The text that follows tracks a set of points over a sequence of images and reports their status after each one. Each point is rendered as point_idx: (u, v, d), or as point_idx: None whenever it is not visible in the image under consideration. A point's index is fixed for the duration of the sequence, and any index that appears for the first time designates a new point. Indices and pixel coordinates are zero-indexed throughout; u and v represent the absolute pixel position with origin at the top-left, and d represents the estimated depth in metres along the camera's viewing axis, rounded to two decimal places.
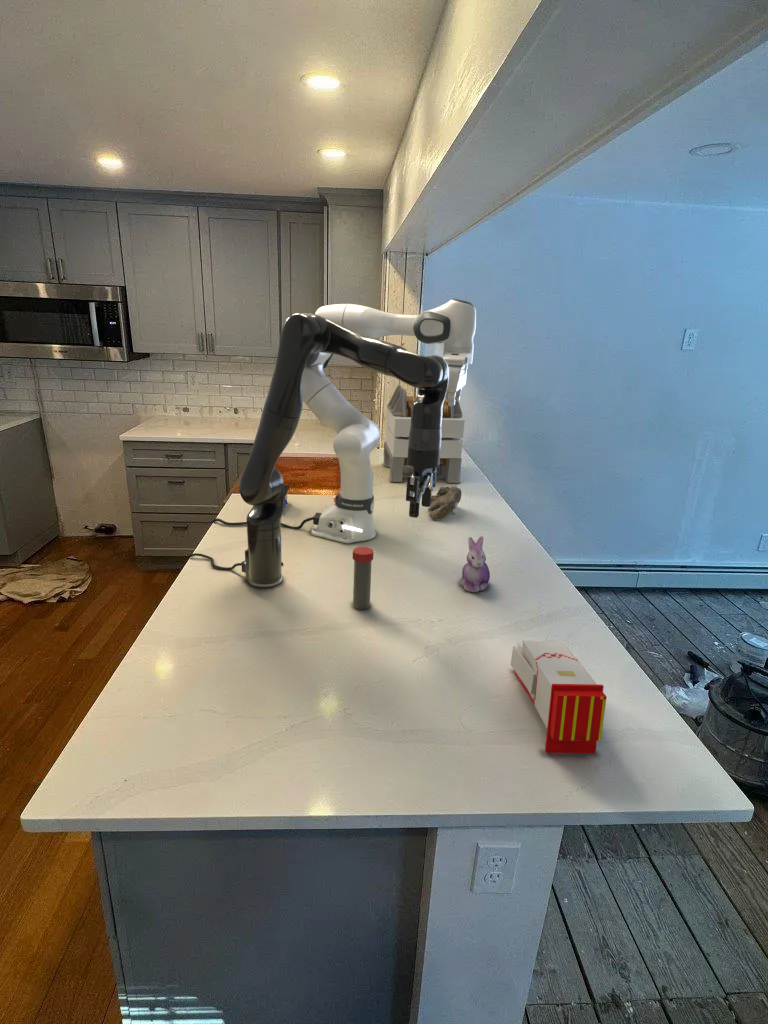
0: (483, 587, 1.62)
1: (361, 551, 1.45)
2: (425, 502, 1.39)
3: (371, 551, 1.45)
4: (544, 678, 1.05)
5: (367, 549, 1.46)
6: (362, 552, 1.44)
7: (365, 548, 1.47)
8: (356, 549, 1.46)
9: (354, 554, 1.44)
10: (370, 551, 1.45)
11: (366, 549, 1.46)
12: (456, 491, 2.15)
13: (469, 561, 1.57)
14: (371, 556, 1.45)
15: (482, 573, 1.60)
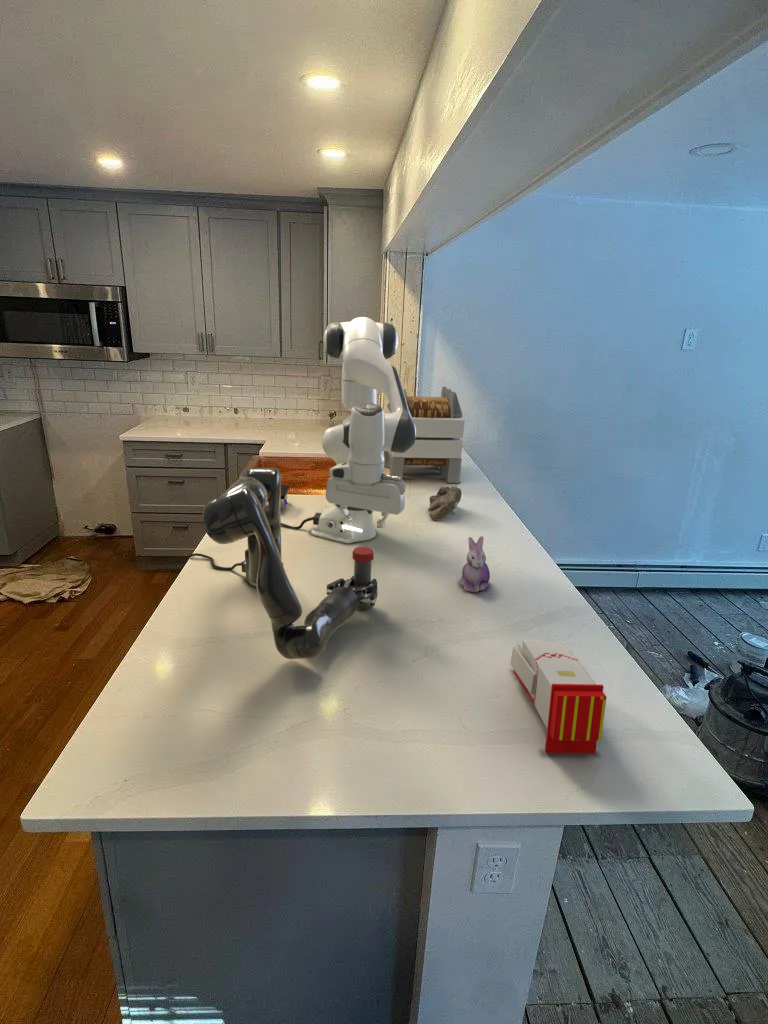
0: (483, 587, 1.62)
1: (361, 551, 1.45)
2: None
3: (371, 551, 1.45)
4: (544, 678, 1.05)
5: (367, 549, 1.46)
6: (362, 552, 1.44)
7: (365, 548, 1.47)
8: (356, 549, 1.46)
9: (354, 554, 1.44)
10: (370, 551, 1.45)
11: (366, 549, 1.46)
12: (456, 491, 2.15)
13: (469, 561, 1.57)
14: (371, 556, 1.45)
15: (482, 573, 1.60)
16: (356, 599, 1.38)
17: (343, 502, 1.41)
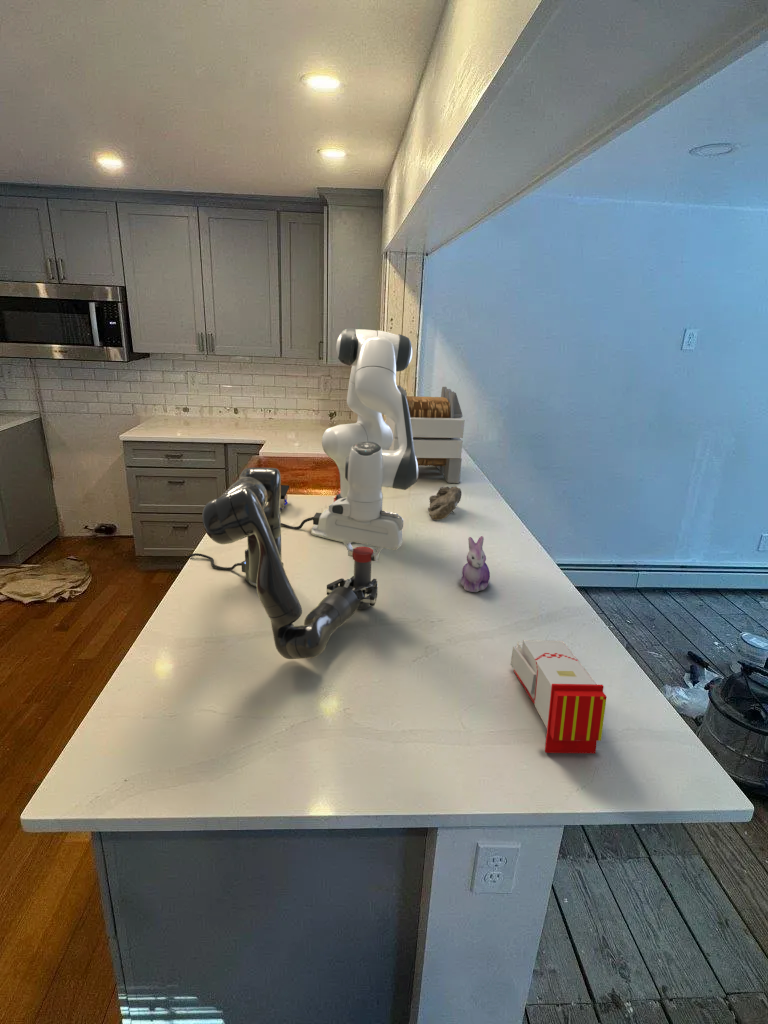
0: (483, 587, 1.62)
1: (361, 551, 1.45)
2: None
3: (371, 551, 1.45)
4: (544, 678, 1.05)
5: (367, 549, 1.46)
6: (362, 552, 1.44)
7: (365, 548, 1.47)
8: (356, 549, 1.46)
9: (354, 554, 1.44)
10: (370, 551, 1.45)
11: (366, 549, 1.46)
12: (456, 491, 2.15)
13: (469, 561, 1.57)
14: None
15: (482, 573, 1.60)
16: (356, 599, 1.38)
17: (342, 537, 1.45)
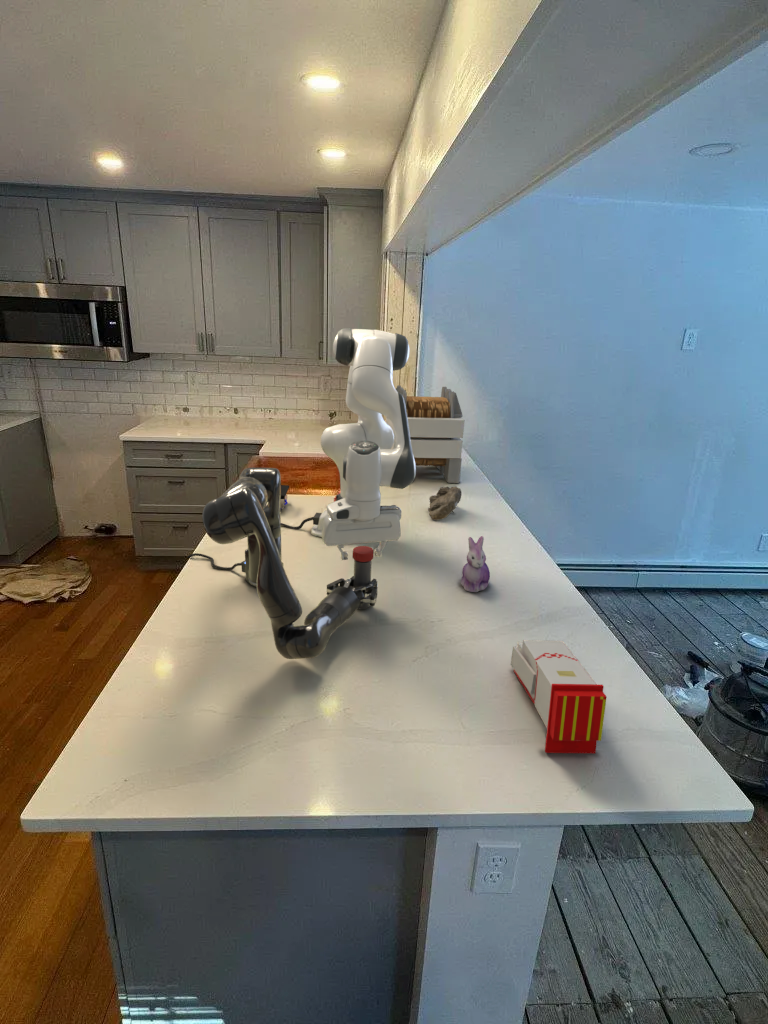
0: (483, 587, 1.62)
1: (365, 550, 1.45)
2: None
3: (367, 547, 1.47)
4: (544, 678, 1.05)
5: (362, 547, 1.47)
6: (367, 550, 1.45)
7: (359, 548, 1.47)
8: (358, 552, 1.44)
9: (366, 556, 1.43)
10: (367, 547, 1.47)
11: (361, 548, 1.47)
12: (456, 491, 2.15)
13: (469, 561, 1.57)
14: None
15: (482, 573, 1.60)
16: (356, 599, 1.38)
17: (344, 541, 1.41)
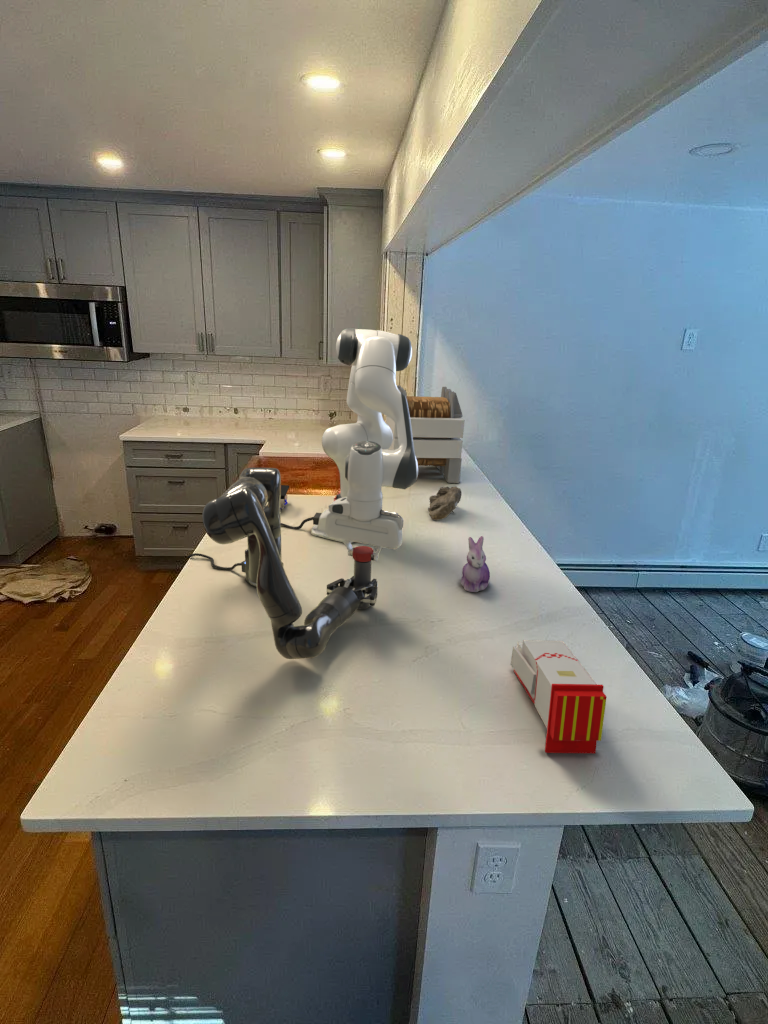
0: (483, 587, 1.62)
1: (365, 550, 1.45)
2: None
3: (367, 547, 1.47)
4: (544, 678, 1.05)
5: (362, 547, 1.47)
6: (367, 550, 1.45)
7: (359, 548, 1.47)
8: (358, 552, 1.44)
9: (366, 556, 1.43)
10: (367, 547, 1.47)
11: (361, 548, 1.47)
12: (456, 491, 2.15)
13: (469, 561, 1.57)
14: None
15: (482, 573, 1.60)
16: (356, 599, 1.38)
17: (342, 536, 1.44)
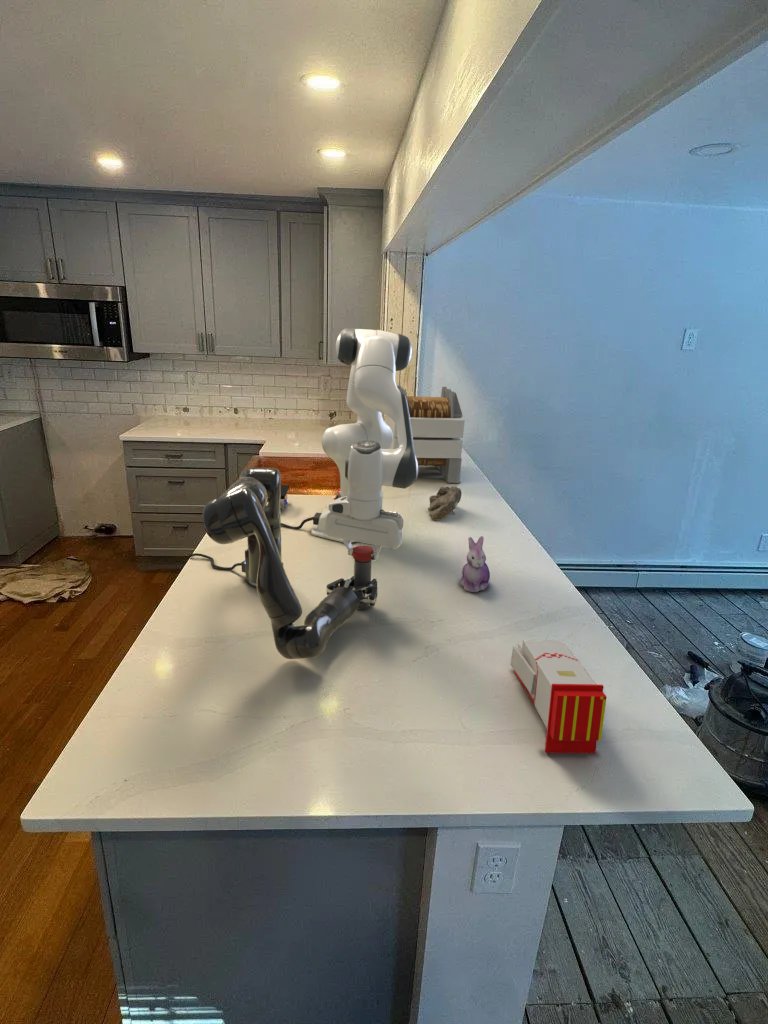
0: (483, 587, 1.62)
1: (366, 549, 1.46)
2: None
3: (358, 546, 1.47)
4: (544, 678, 1.05)
5: (358, 548, 1.46)
6: (367, 548, 1.46)
7: (358, 550, 1.45)
8: (367, 551, 1.44)
9: (373, 551, 1.46)
10: (359, 546, 1.47)
11: (359, 549, 1.46)
12: (456, 491, 2.15)
13: (469, 561, 1.57)
14: None
15: (482, 573, 1.60)
16: (356, 599, 1.38)
17: (342, 536, 1.44)
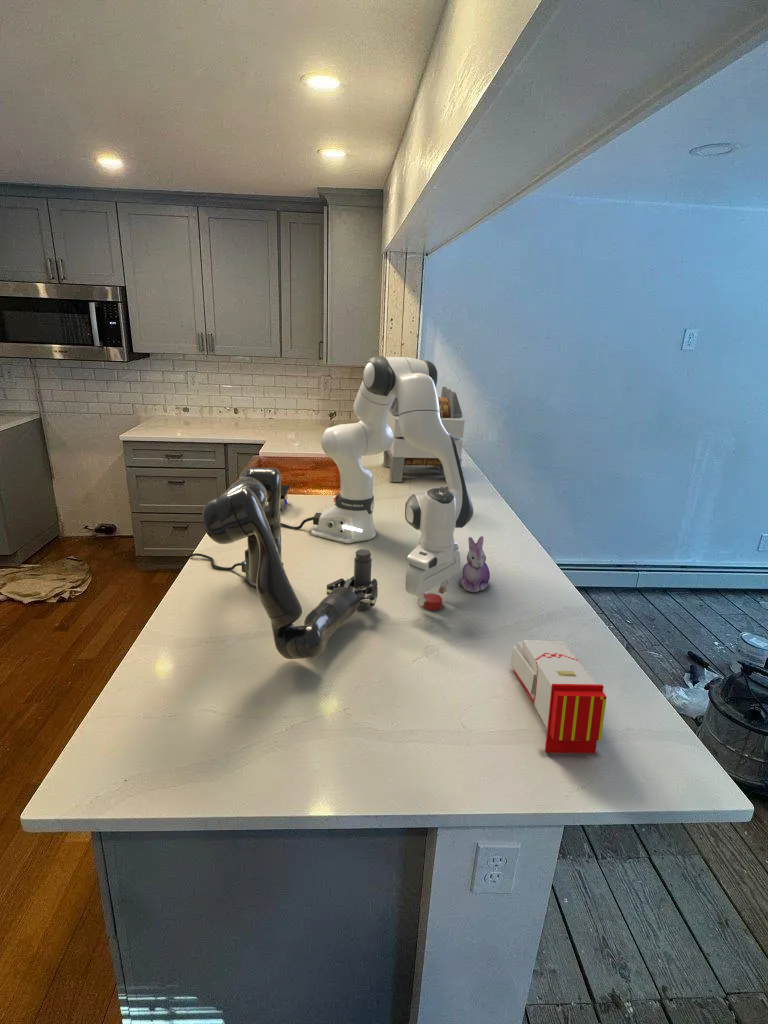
0: (483, 587, 1.62)
1: (432, 596, 1.53)
2: None
3: None
4: (544, 678, 1.05)
5: (430, 600, 1.51)
6: (430, 595, 1.53)
7: (433, 600, 1.51)
8: (438, 597, 1.52)
9: None
10: None
11: (431, 599, 1.51)
12: None
13: (469, 561, 1.57)
14: None
15: (482, 573, 1.60)
16: (356, 599, 1.38)
17: (428, 588, 1.45)
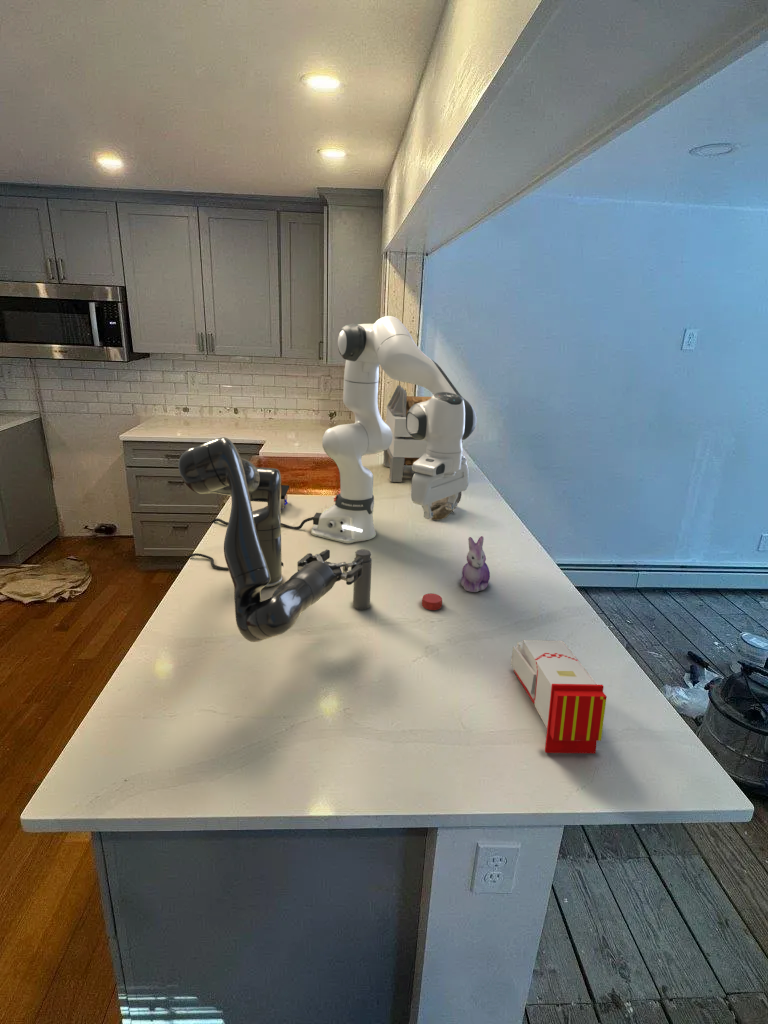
0: (483, 587, 1.62)
1: (432, 596, 1.53)
2: None
3: (424, 599, 1.51)
4: (544, 678, 1.05)
5: (430, 600, 1.51)
6: (430, 595, 1.53)
7: (433, 600, 1.51)
8: (438, 597, 1.52)
9: None
10: (425, 598, 1.51)
11: (431, 599, 1.51)
12: None
13: (469, 561, 1.57)
14: (422, 600, 1.52)
15: (482, 573, 1.60)
16: (332, 575, 1.23)
17: (435, 498, 1.37)
